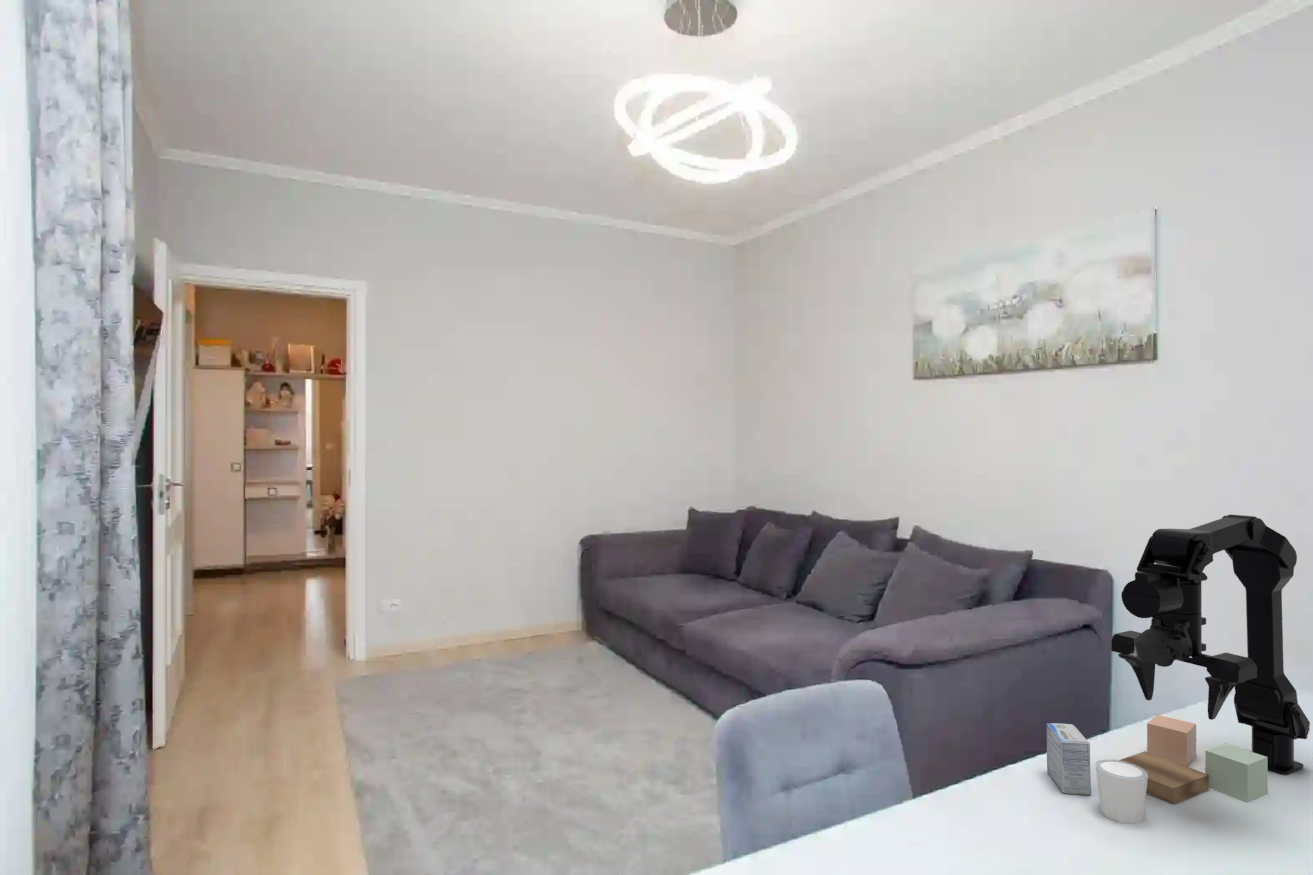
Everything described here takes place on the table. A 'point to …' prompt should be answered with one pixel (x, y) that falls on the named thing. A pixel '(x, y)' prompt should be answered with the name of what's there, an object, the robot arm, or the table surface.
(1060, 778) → the medicine box
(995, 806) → the table surface
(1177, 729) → the clay cube
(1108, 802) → the white tapered cylinder
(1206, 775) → the walnut block
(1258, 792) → the sage cube
